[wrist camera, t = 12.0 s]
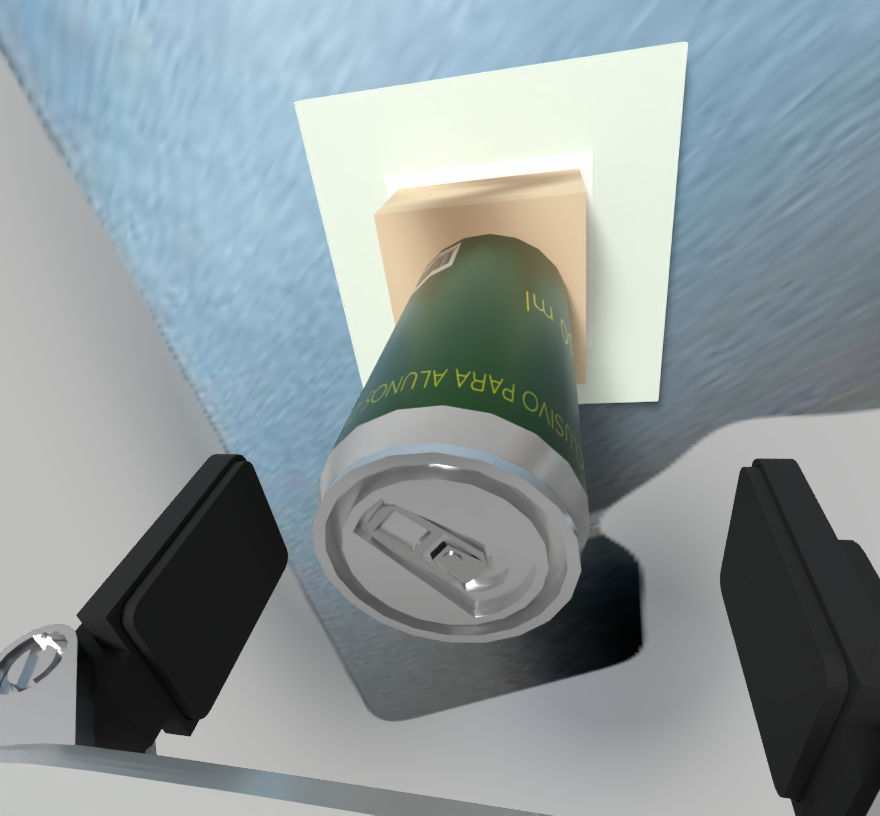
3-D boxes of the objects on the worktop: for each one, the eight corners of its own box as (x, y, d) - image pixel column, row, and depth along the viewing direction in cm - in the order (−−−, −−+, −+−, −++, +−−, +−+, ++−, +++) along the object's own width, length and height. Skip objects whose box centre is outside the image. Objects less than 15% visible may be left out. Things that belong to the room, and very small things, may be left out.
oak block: (579, 168, 21) (585, 192, 18) (579, 337, 25) (585, 383, 21) (398, 188, 22) (373, 214, 19) (424, 346, 26) (407, 390, 23)
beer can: (391, 317, 21) (256, 565, 11) (472, 194, 18) (389, 379, 8) (507, 393, 22) (478, 681, 12) (601, 287, 19) (664, 552, 9)
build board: (681, 41, 19) (688, 41, 18) (654, 390, 27) (658, 402, 26) (303, 100, 22) (293, 102, 21) (373, 400, 29) (368, 411, 29)
